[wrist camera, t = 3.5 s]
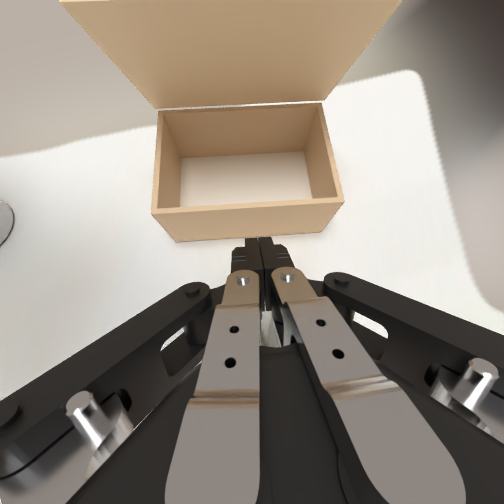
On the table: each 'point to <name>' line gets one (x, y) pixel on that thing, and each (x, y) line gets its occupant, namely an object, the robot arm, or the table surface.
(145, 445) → the robot arm
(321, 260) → the table surface
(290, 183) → the box
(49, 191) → the table surface
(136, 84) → the mailer lid
